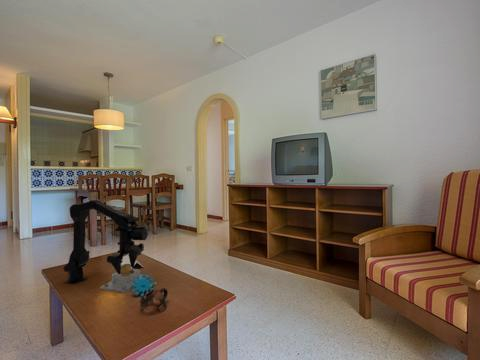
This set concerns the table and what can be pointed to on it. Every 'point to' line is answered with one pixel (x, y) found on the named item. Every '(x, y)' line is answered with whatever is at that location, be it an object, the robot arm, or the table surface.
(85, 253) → the robot arm
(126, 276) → the bracket collar
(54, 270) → the table surface
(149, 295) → the dark brown loop tangle
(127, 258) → the z bracket
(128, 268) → the wedge pin
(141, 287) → the gear
